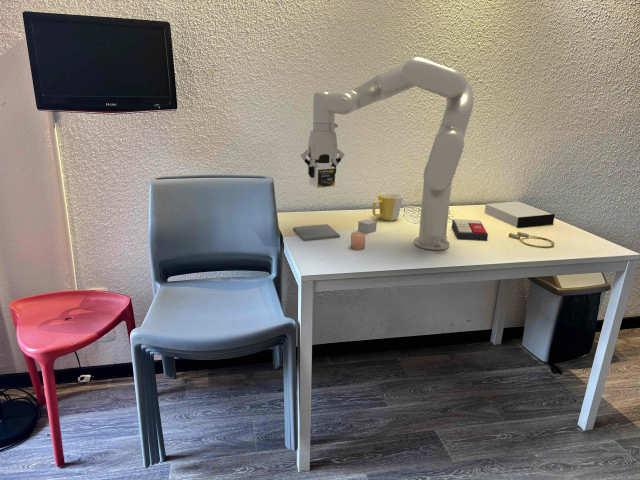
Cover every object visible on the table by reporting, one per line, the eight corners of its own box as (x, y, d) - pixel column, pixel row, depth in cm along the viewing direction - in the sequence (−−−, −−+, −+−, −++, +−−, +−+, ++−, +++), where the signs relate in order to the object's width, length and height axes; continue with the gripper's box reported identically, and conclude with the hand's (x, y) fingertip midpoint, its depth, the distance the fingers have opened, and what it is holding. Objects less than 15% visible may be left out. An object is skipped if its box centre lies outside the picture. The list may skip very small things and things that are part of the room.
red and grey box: (458, 231, 184) (452, 217, 197) (457, 241, 185) (451, 227, 199) (488, 232, 183) (480, 218, 196) (487, 243, 184) (479, 228, 198)
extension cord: (532, 234, 193) (533, 229, 192) (561, 248, 179) (562, 242, 178) (505, 236, 190) (506, 231, 189) (532, 250, 176) (533, 245, 175)
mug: (394, 214, 214) (395, 191, 211) (405, 221, 205) (407, 197, 202) (365, 217, 210) (366, 193, 206) (375, 224, 201) (377, 199, 197)
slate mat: (339, 237, 185) (339, 234, 184) (304, 241, 180) (304, 238, 180) (326, 226, 197) (326, 224, 197) (293, 229, 192) (293, 227, 192)
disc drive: (517, 229, 199) (519, 217, 197) (483, 214, 219) (485, 203, 218) (553, 226, 204) (555, 214, 203) (516, 211, 224) (518, 200, 223)
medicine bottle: (317, 188, 177) (318, 155, 173) (309, 184, 183) (309, 151, 179) (335, 186, 180) (336, 153, 176) (326, 182, 186) (326, 150, 182)
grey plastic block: (376, 231, 192) (376, 221, 191) (367, 234, 189) (367, 224, 188) (366, 228, 196) (367, 219, 194) (357, 231, 193) (358, 221, 191)
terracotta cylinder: (367, 249, 173) (367, 235, 172) (353, 250, 172) (354, 237, 170) (361, 244, 178) (361, 231, 176) (348, 246, 176) (348, 232, 174)
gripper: (342, 125, 181) (340, 173, 187) (296, 126, 175) (296, 175, 181) (350, 128, 174) (348, 177, 180) (303, 129, 169) (302, 179, 174)
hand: (322, 176), depth 181 cm, fingers closed on medicine bottle, 7 cm apart
